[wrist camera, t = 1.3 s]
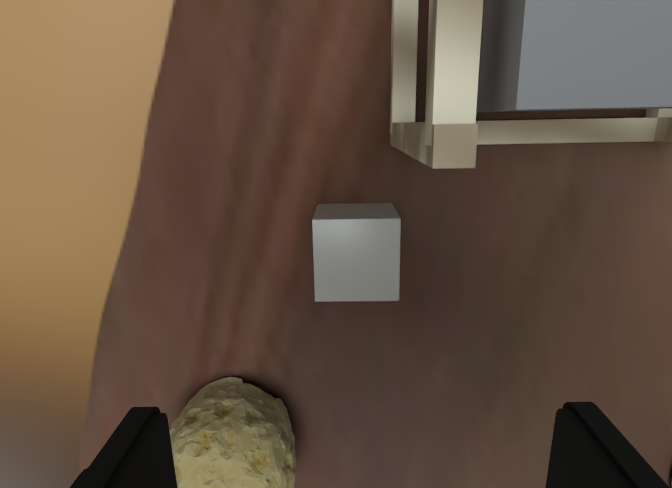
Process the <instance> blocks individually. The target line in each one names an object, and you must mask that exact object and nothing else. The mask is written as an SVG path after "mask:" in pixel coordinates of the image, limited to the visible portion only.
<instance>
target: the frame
mask: <svg viewBox="0 0 672 488" xmlns="http://www.w3.org/2000/svg"><path fill="white" fill-rule="evenodd" d="M418 1H419V0H392V25H391V96H390V145H391V146H393V147H394V148H396V149H398V150H400V151H402V152H403V153H405V154H407V155H409V156H411V157H412V158H414V159H416V160H418V161H420V162H421V163H423V164H425V165H427V166H429V167H430V168H432V169H440V168H475V163H476V148H477V144H532V143H588V142H645V141H656V142H671V143H672V108H663V109H646V114H645V118H601V119H548V120H496V121H476V107H477V92H478V76H479V61H480V45H481V29H482V14H483V0H429V26H428V55H427V84H426V112H425V122H415V105H416V70H417V35H418Z"/></svg>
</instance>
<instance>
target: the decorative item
mask: <svg viewBox="0 0 672 488" xmlns="http://www.w3.org/2000/svg"><path fill="white" fill-rule="evenodd" d="M242 381H243V380H242V379H240V378H237V377H227V378H222V379H219V380H216V381H214V382H211V383H209V384H207V385H206V386H204V387H203V388H202V389H201V390H200V391H199V392H198V393H197V394H196V395H195V396H194V397H193V398H191V399H190V400H189V402H188V404H187V405H186V407H184V409H183V410H182V412H181V413H180V415H179V416H178V418H177V419H176V420H175V421H174V422H173V423H172V426H171V429H170V431H169V432H170V439H171V446H172V453H173V460H174V467H175V473H176V480H177V487H178V488H294V482H295V469H296V467H297V466H296V456H295V437H294V434H293V433H292V430H291V422H290V419H289V415H288V413H287V408H286V407H285V405H284V404H283V401H282V400H281V399H280V398H276V399H275V398H274V397H273V396H271V395H268V394H267V393H266V392H264V391H263V390H262V389H260V388H258V387H256V386H254V385H251V384H248V383H243V382H242Z"/></svg>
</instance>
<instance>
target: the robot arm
mask: <svg viewBox="0 0 672 488" xmlns="http://www.w3.org/2000/svg"><path fill="white" fill-rule="evenodd" d="M70 488H178V487H177V480H176V473H175V467H174V460H173V453H172V446H171V439H170V432H169V426H168V419H167V415H166V414H165V413H160V410H159V408H158V407H133V408H131V409H130V410H129V412H128V413H127V414H126V416H125V417H124V419H123V420H122V421H121V423H120V424H119V426H118V427H117V428H116V430H115V431H114V433H113V434H112V435H111V437H110V438H109V440H108V441H107V442H106V444H105V445H104V446H103V448H102V449H101V451H100V452H99V453H98V455H97V456H96V458H95V459H94V460H93V462H92V463H91V465H90V466H89V467H88V468H87V469H85V470H83V471H82V473H81V474H80V475H79V476H78V477H77V479H76V480H75V481H74V483H73V484H72V486H71V487H70ZM546 488H669V487H668V485H667V484H666V483H665V482H664V481H663V480H662V479H661V478H660V476H659V475H658V474H657V473H656V472H655V471H654V470H653V469H652V467H651V466H650V465H649V464H648V463H647V462H646V461H645V460H644V458H643V457H642V456H641V455H640V454H639V453H638V452H637V451H636V449H635V448H634V447H633V446H632V445H631V444H630V443H629V442H628V440H627V439H626V438H625V437H624V436H623V435H622V434H621V433H620V431H619V430H618V429H617V428H616V427H615V426H614V425H613V424H612V422H611V421H610V420H609V419H608V418H607V417H606V416H605V415H604V413H603V412H602V411H601V410H600V409H599V408H598V407H597V406H596V405H595V404H594V403H592V402H566V403H565V404H564V405H563V409H558V410H557V412H556V417H555V425H554V432H553V439H552V446H551V453H550V460H549V467H548V475H547V482H546ZM671 488H672V480H671Z"/></svg>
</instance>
